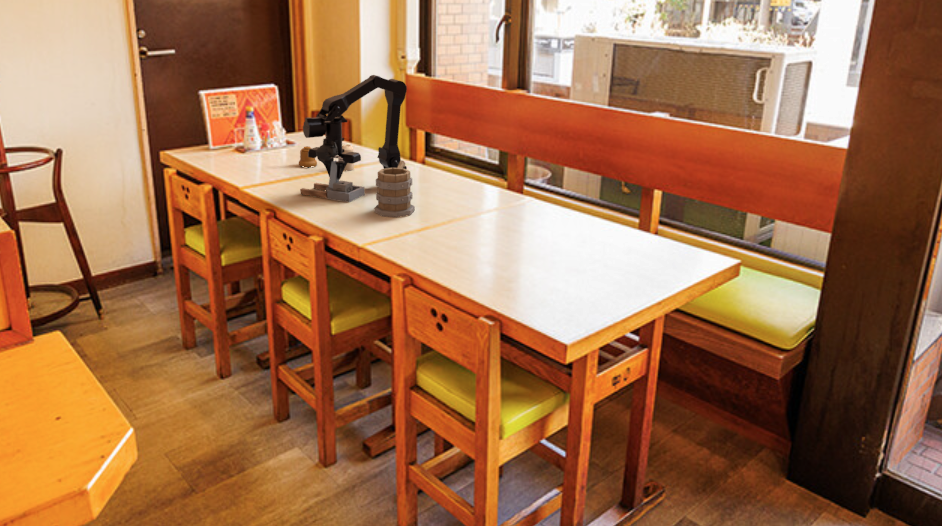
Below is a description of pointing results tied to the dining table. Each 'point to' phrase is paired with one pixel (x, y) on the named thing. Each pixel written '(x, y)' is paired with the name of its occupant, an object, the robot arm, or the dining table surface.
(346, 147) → the candle
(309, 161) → the ornamental finial
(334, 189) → the dice cube
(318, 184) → the slot rails
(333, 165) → the grey notched beam
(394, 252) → the dining table surface
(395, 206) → the tankard
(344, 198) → the box
